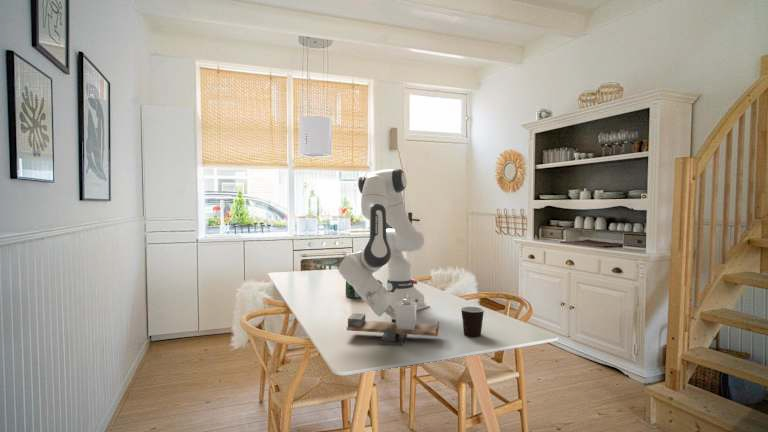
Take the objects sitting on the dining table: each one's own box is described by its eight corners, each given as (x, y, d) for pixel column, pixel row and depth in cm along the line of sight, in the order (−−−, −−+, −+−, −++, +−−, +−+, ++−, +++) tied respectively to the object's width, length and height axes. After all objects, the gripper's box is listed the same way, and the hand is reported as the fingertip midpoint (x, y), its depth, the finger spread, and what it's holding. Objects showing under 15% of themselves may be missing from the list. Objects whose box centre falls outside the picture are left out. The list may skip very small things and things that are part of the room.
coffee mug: (479, 339, 157) (479, 313, 157) (457, 335, 162) (457, 310, 161) (489, 331, 167) (489, 307, 167) (468, 328, 171) (468, 304, 171)
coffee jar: (343, 295, 233) (343, 262, 232) (356, 294, 236) (356, 261, 236) (350, 299, 224) (350, 264, 224) (363, 297, 228) (363, 263, 227)
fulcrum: (379, 344, 152) (379, 329, 151) (386, 331, 167) (386, 317, 167) (401, 345, 150) (401, 330, 150) (406, 332, 166) (406, 318, 166)
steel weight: (395, 329, 155) (396, 301, 155) (398, 323, 162) (398, 296, 161) (414, 330, 154) (414, 302, 153) (416, 324, 161) (416, 297, 160)
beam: (346, 330, 157) (346, 319, 156) (352, 322, 166) (353, 312, 166) (437, 336, 151) (438, 324, 151) (438, 328, 161) (439, 317, 161)
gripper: (370, 289, 149) (397, 318, 148) (380, 279, 169) (404, 304, 168) (358, 301, 150) (385, 330, 149) (369, 290, 170) (393, 315, 169)
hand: (395, 316), depth 158 cm, fingers closed
